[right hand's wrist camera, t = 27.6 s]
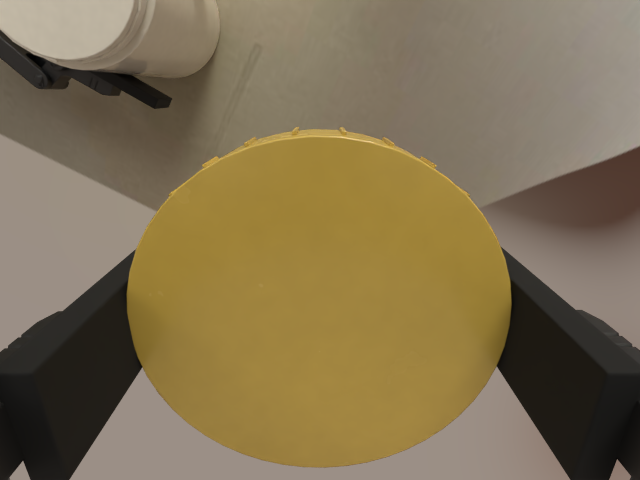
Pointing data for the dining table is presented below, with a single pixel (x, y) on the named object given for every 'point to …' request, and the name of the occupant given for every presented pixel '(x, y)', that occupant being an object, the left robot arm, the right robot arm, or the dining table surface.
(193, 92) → the dining table surface
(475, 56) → the dining table surface
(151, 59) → the jar
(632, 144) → the dining table surface
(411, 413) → the lid
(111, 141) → the dining table surface
